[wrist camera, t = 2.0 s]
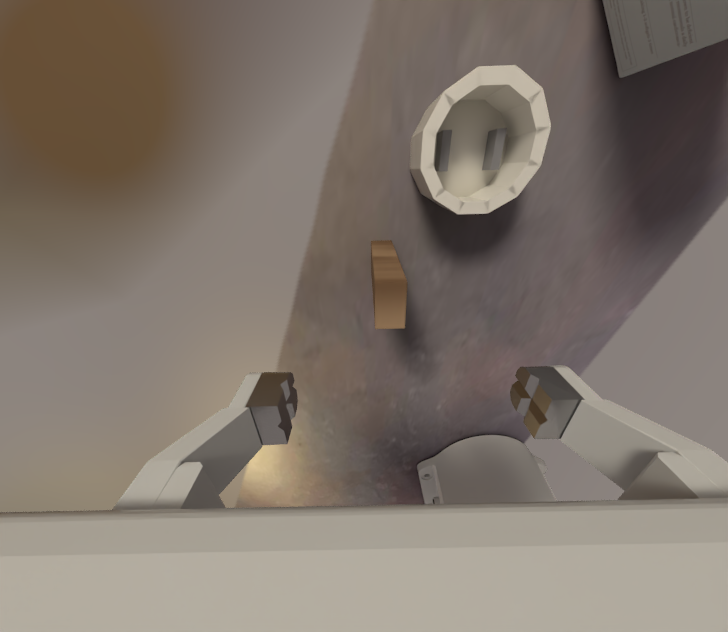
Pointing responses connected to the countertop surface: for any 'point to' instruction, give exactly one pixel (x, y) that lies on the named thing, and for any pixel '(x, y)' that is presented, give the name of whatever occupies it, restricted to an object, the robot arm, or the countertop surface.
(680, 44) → the supplement box
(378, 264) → the brown rectangular block
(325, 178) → the countertop surface
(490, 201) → the faceted white cup
